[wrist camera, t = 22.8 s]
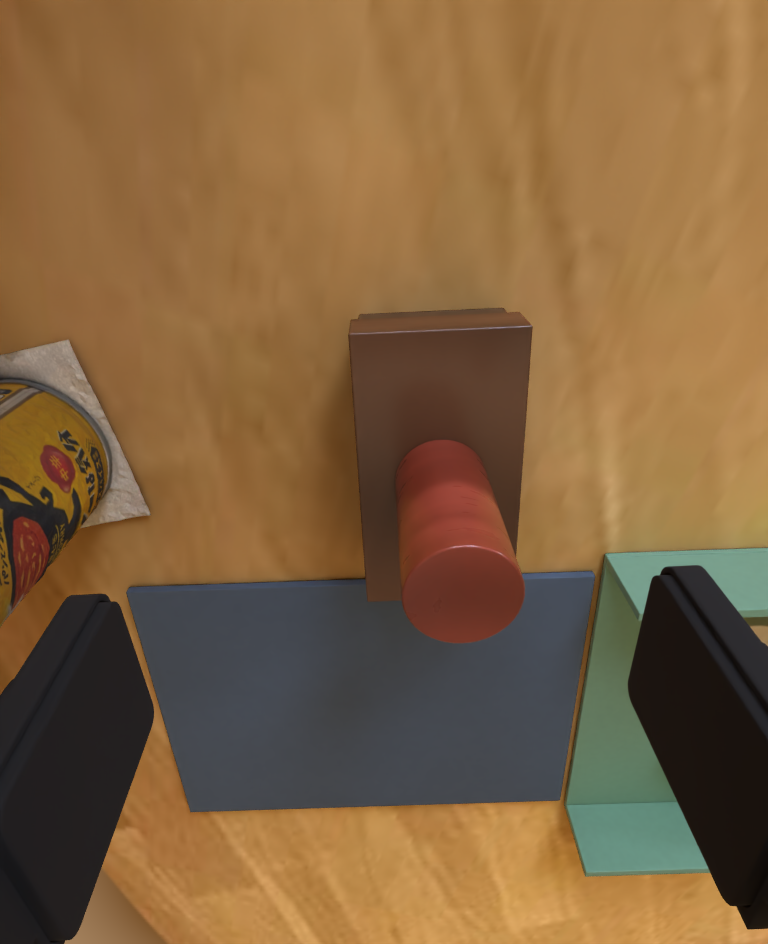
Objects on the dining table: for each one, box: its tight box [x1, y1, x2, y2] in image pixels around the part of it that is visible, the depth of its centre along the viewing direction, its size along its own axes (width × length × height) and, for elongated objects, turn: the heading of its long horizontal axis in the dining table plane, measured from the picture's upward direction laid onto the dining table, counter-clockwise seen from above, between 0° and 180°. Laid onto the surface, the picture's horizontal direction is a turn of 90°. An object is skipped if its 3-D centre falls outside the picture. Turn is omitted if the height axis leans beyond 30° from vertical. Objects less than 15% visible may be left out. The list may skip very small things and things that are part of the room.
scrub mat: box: [126, 571, 595, 812], centre depth 29 cm, size 15×20×1 cm
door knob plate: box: [348, 308, 532, 643], centre depth 19 cm, size 10×5×9 cm, turn 2°
